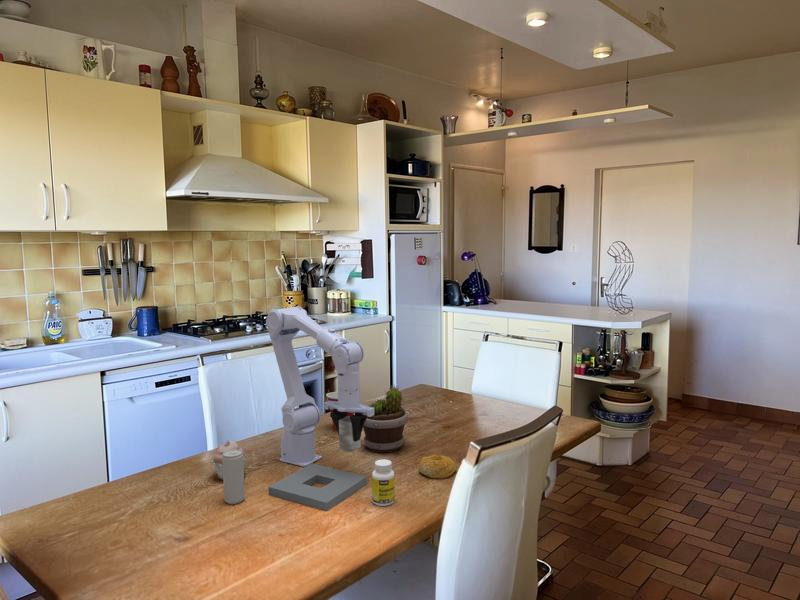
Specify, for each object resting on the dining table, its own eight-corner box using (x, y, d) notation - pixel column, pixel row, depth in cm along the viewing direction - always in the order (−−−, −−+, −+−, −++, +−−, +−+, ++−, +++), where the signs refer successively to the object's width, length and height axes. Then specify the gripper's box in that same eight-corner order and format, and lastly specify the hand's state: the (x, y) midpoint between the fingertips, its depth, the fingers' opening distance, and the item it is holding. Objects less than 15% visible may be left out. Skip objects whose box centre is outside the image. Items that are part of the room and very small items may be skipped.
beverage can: (239, 505, 136) (237, 457, 135) (220, 504, 137) (218, 455, 136) (248, 496, 141) (246, 449, 140) (230, 495, 142) (228, 448, 141)
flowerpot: (351, 452, 169) (349, 386, 167) (372, 436, 183) (371, 375, 181) (396, 459, 164) (395, 391, 162) (415, 441, 178) (414, 378, 176)
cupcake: (205, 476, 153) (203, 440, 152) (236, 466, 160) (235, 431, 159) (223, 486, 147) (222, 448, 146) (255, 475, 154) (253, 439, 153)
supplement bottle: (378, 508, 134) (377, 468, 133) (368, 499, 139) (367, 460, 138) (398, 503, 136) (398, 464, 135) (388, 494, 141) (388, 456, 140)
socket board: (268, 494, 142) (268, 486, 142) (312, 470, 157) (312, 463, 156) (326, 511, 133) (326, 502, 133) (367, 483, 148) (367, 476, 147)
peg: (339, 449, 151) (338, 420, 150) (348, 444, 154) (347, 416, 153) (352, 452, 149) (351, 422, 148) (360, 447, 152) (360, 418, 151)
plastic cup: (365, 426, 193) (365, 392, 191) (346, 436, 184) (345, 399, 182) (340, 421, 199) (339, 387, 197) (320, 430, 189) (319, 395, 188)
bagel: (464, 470, 156) (464, 453, 155) (439, 484, 148) (439, 466, 147) (436, 461, 162) (435, 445, 162) (410, 474, 154) (410, 457, 154)
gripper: (317, 388, 150) (318, 439, 151) (363, 395, 143) (364, 448, 144) (333, 382, 156) (334, 431, 157) (378, 389, 149) (379, 439, 150)
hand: (349, 438), depth 151 cm, fingers closed on peg, 4 cm apart
